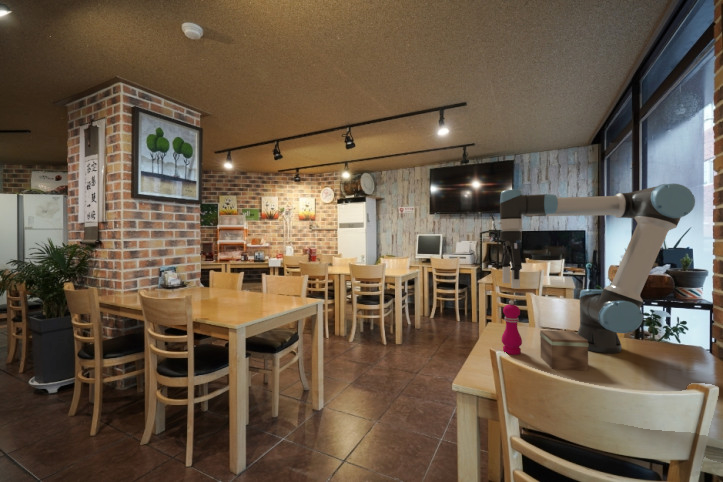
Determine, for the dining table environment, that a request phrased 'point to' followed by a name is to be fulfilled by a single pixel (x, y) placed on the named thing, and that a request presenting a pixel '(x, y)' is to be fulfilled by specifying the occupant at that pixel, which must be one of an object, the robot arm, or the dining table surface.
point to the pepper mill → (511, 330)
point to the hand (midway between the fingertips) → (510, 285)
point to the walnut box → (564, 350)
